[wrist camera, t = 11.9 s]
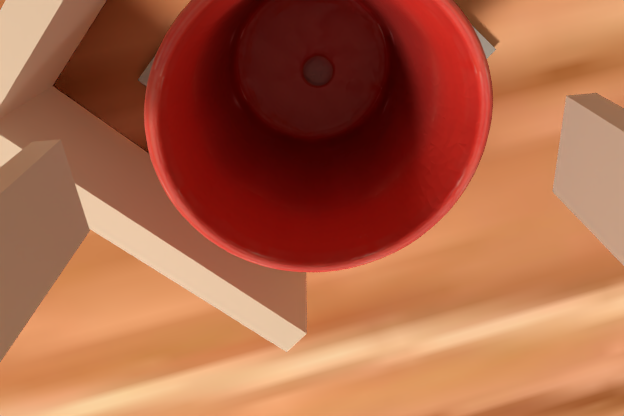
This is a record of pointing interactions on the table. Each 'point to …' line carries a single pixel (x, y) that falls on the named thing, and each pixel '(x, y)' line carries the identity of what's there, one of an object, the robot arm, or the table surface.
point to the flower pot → (317, 124)
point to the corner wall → (126, 175)
